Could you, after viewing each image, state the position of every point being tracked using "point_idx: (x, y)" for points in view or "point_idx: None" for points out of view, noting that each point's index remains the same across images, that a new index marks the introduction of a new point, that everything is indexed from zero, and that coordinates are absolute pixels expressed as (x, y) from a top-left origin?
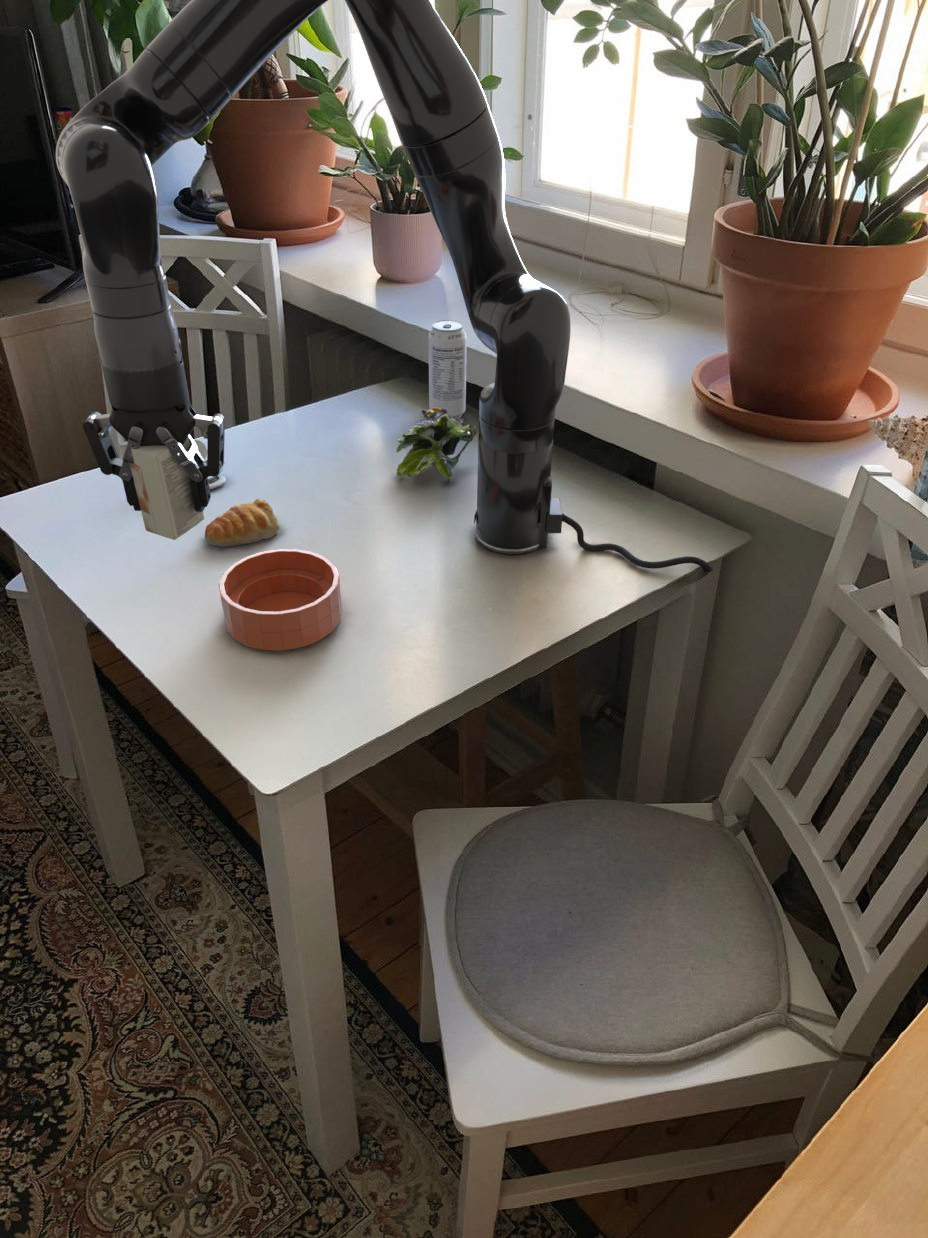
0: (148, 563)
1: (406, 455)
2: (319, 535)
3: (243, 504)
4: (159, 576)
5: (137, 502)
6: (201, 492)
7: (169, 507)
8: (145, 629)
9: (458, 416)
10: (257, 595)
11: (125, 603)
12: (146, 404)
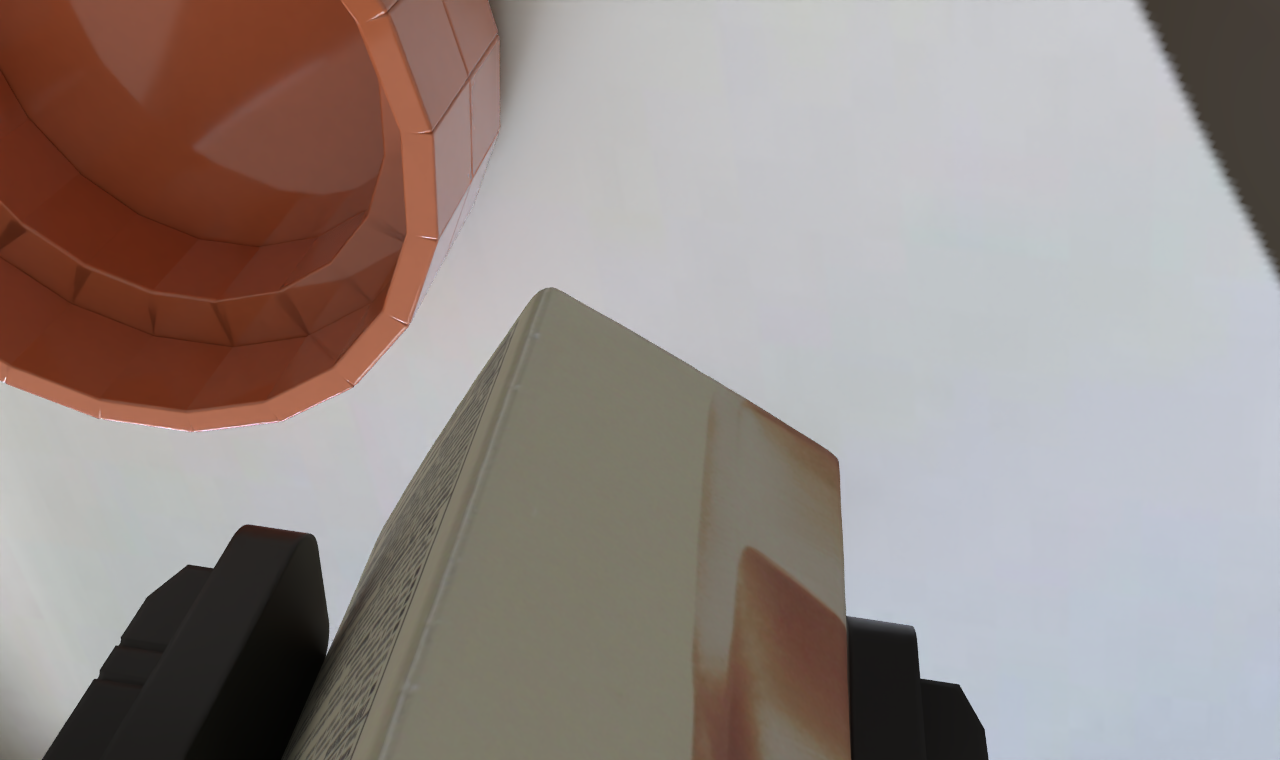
0: (955, 539)
1: None
2: None
3: None
4: (898, 446)
5: (867, 694)
6: (132, 700)
7: (446, 534)
8: (946, 20)
9: None
10: (364, 212)
11: (1063, 264)
12: None
